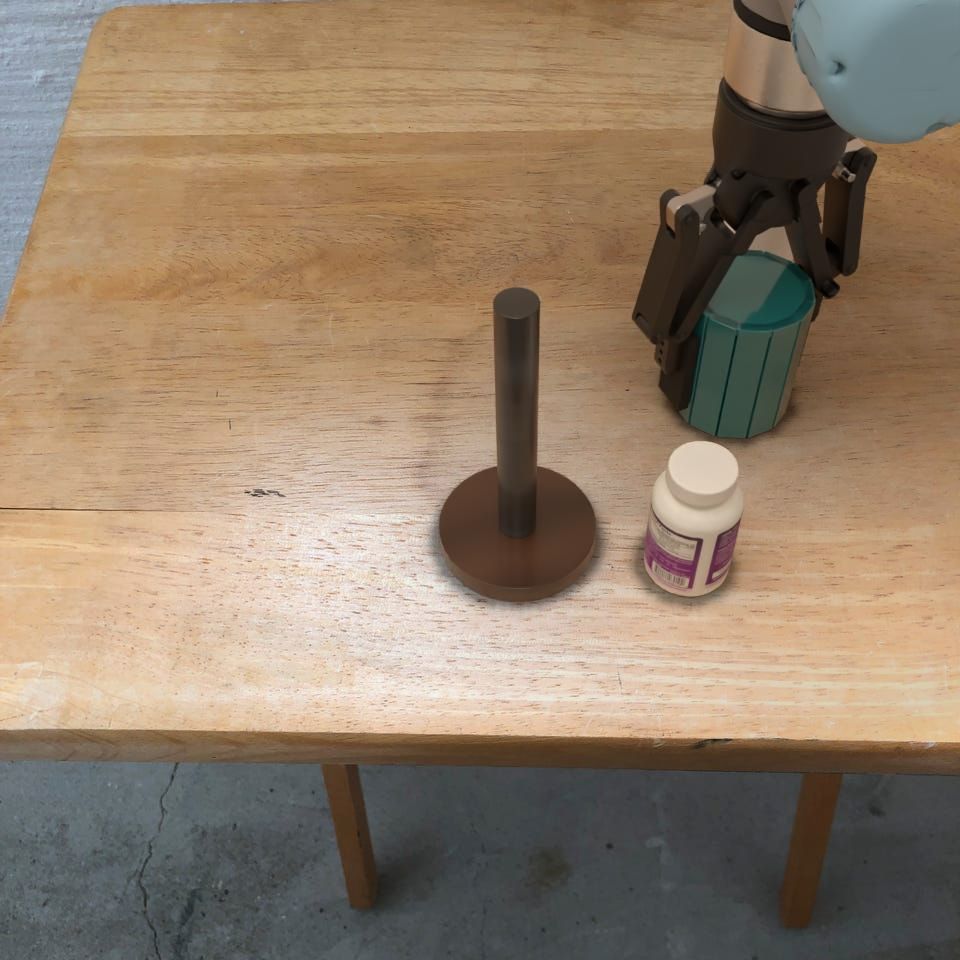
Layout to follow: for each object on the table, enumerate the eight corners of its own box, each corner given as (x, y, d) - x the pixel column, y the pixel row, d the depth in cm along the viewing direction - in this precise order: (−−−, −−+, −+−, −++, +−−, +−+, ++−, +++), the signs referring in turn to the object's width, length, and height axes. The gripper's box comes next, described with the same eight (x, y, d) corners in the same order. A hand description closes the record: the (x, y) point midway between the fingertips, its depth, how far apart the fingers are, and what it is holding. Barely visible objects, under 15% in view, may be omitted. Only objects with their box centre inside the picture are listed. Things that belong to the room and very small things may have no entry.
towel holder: (623, 566, 69) (652, 332, 54) (479, 625, 67) (466, 398, 52) (551, 458, 75) (559, 219, 60) (416, 509, 73) (388, 273, 57)
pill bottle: (707, 522, 71) (729, 421, 64) (741, 587, 68) (769, 489, 61) (629, 541, 71) (642, 442, 63) (660, 608, 67) (677, 512, 60)
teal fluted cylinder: (808, 415, 77) (840, 307, 69) (710, 453, 75) (732, 346, 67) (745, 344, 82) (768, 236, 74) (651, 378, 80) (665, 270, 72)
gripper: (904, 6, 65) (822, 299, 82) (585, 98, 60) (570, 389, 77) (992, 67, 60) (885, 363, 78) (656, 171, 55) (623, 463, 73)
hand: (728, 376), depth 77 cm, fingers open, 8 cm apart
